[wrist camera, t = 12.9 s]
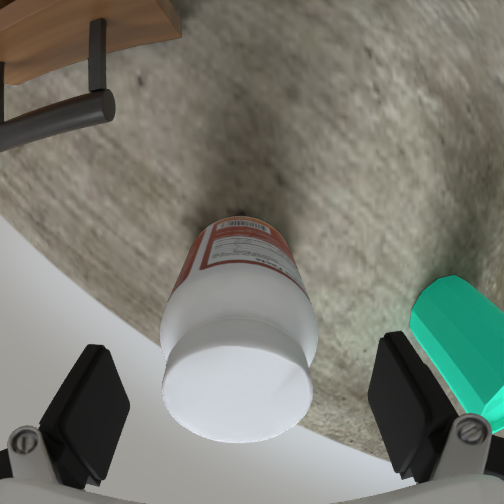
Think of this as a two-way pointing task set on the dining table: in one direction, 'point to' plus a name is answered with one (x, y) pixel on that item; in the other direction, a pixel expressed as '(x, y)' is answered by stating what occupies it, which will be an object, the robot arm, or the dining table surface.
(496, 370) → the candle
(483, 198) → the dining table surface
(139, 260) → the dining table surface
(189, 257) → the pill bottle
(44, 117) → the drawer
